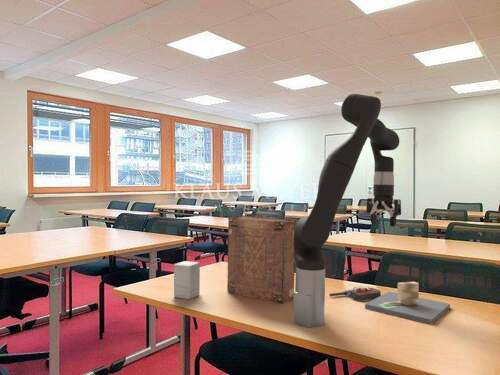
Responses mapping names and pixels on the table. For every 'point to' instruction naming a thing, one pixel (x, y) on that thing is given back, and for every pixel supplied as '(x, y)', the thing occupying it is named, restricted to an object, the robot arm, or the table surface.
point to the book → (261, 258)
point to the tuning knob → (406, 294)
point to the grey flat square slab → (409, 308)
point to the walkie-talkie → (360, 293)
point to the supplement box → (186, 279)
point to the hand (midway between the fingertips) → (382, 225)
